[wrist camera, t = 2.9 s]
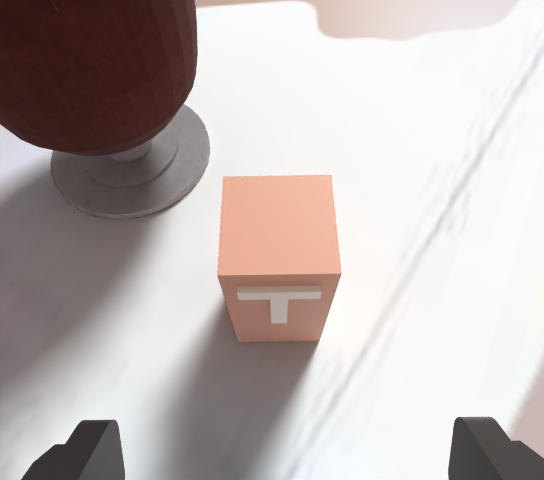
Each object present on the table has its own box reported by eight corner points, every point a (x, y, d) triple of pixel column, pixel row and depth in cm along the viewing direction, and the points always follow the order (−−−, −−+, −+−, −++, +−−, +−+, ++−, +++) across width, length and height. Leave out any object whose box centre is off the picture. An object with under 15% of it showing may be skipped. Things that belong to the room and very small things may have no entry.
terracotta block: (237, 347, 25) (217, 282, 16) (240, 268, 28) (223, 176, 19) (319, 346, 25) (342, 280, 16) (314, 267, 28) (331, 174, 19)
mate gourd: (32, 123, 35) (-219, -230, 17) (188, 76, 37) (109, -271, 20) (65, 276, 28) (-302, -57, 10) (255, 205, 30) (224, -157, 13)
